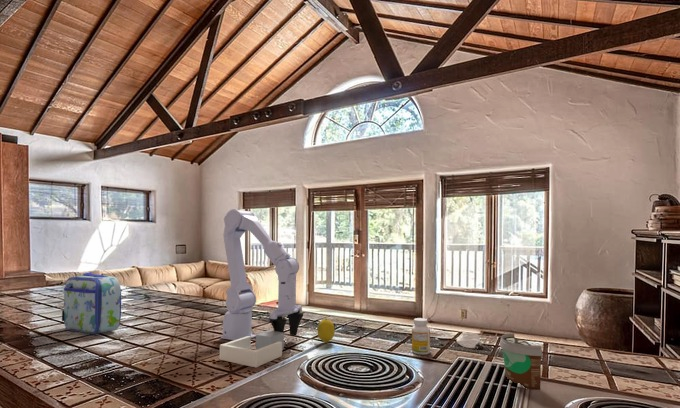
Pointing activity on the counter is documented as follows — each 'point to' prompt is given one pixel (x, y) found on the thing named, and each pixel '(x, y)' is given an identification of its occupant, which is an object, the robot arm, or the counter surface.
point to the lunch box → (92, 303)
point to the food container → (522, 361)
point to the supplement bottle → (420, 337)
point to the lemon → (326, 330)
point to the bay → (249, 352)
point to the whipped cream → (469, 340)
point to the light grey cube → (269, 338)
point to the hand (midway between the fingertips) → (286, 337)
